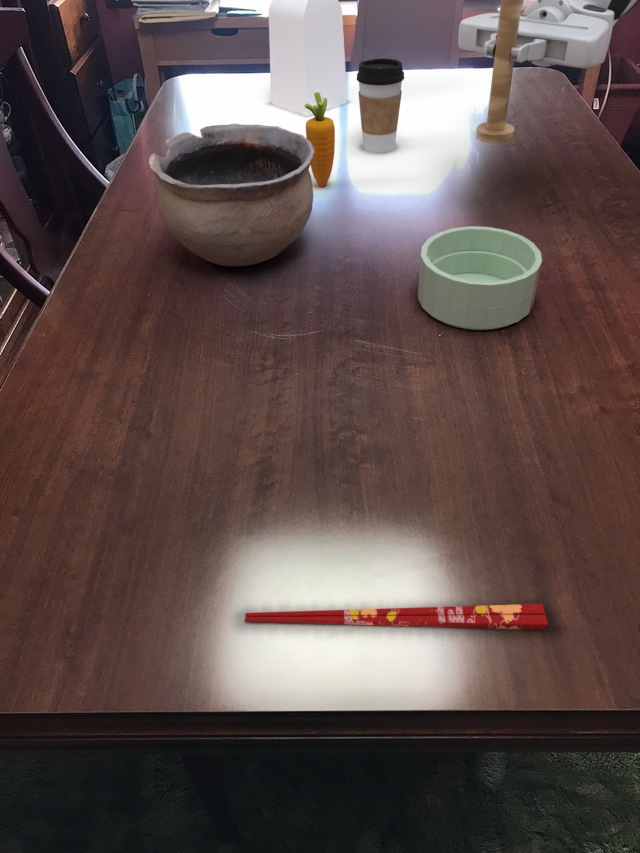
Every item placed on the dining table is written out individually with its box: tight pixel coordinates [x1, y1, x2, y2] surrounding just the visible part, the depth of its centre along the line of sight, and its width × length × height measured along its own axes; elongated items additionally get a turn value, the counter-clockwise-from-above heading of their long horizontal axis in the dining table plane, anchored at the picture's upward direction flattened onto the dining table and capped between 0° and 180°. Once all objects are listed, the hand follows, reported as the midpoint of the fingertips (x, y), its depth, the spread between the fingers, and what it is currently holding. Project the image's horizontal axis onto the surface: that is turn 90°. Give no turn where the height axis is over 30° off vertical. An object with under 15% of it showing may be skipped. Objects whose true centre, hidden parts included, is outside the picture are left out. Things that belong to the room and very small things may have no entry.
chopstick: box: [244, 603, 549, 631], centre depth 55 cm, size 2×24×1 cm, turn 89°
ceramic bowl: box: [148, 123, 315, 267], centre depth 97 cm, size 22×22×15 cm
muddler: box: [475, 0, 523, 144], centre depth 91 cm, size 5×5×21 cm
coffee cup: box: [356, 57, 405, 154], centre depth 124 cm, size 8×8×15 cm
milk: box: [268, 0, 348, 117], centre depth 141 cm, size 12×12×26 cm
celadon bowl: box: [417, 225, 543, 331], centre depth 87 cm, size 15×15×7 cm
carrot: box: [305, 92, 336, 188], centre depth 112 cm, size 5×5×15 cm
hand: (501, 52), depth 90 cm, fingers closed on muddler, 2 cm apart
